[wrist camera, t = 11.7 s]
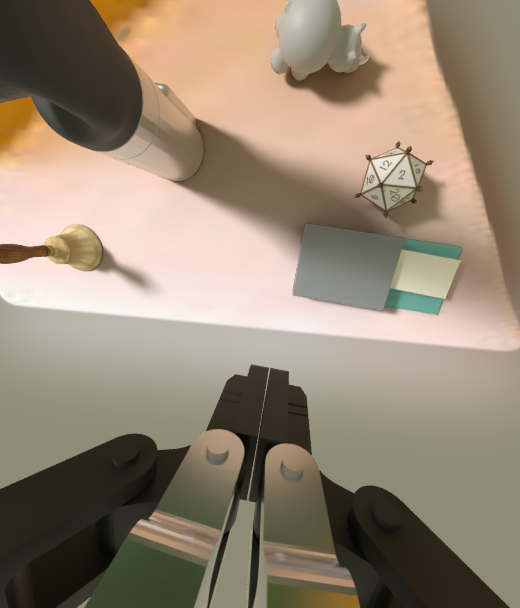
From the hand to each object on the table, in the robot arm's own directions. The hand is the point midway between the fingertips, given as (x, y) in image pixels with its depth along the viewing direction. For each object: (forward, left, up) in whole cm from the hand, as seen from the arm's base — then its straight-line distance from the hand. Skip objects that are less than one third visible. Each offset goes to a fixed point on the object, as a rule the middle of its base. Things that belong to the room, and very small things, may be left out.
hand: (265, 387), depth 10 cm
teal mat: (-1, +21, -35) cm, 41 cm away
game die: (-14, +12, -35) cm, 40 cm away
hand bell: (+3, -37, -35) cm, 51 cm away
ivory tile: (-2, +21, -35) cm, 40 cm away
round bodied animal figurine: (-28, 0, -35) cm, 45 cm away
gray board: (-1, +9, -35) cm, 36 cm away
